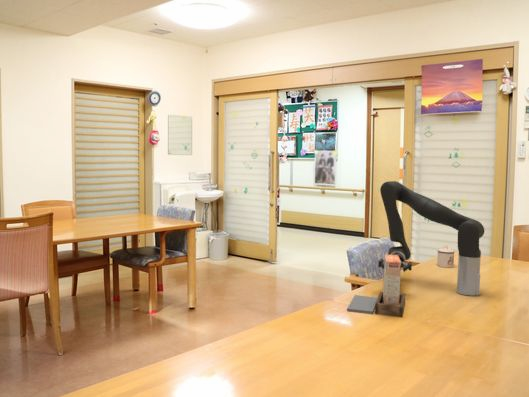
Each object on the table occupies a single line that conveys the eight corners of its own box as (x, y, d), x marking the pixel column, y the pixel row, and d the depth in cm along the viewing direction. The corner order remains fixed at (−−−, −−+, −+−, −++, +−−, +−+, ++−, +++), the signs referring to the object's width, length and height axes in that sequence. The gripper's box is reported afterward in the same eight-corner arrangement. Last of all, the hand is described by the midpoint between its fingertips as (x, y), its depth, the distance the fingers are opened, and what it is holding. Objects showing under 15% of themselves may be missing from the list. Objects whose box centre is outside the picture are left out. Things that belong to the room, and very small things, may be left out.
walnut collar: (405, 303, 204) (405, 294, 204) (402, 317, 187) (402, 306, 186) (379, 300, 208) (380, 291, 207) (374, 313, 190) (375, 303, 190)
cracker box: (399, 314, 190) (401, 261, 188) (383, 313, 191) (385, 261, 189) (397, 303, 203) (399, 254, 201) (382, 302, 205) (384, 253, 203)
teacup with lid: (450, 268, 268) (451, 248, 267) (434, 266, 274) (435, 245, 273) (458, 265, 277) (459, 245, 276) (442, 262, 283) (443, 243, 282)
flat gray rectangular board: (378, 299, 209) (378, 297, 208) (372, 314, 190) (372, 311, 190) (354, 297, 212) (354, 294, 212) (347, 311, 193) (347, 308, 193)
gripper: (381, 250, 227) (377, 258, 212) (413, 254, 222) (411, 261, 207) (380, 266, 228) (376, 274, 213) (412, 270, 223) (410, 278, 208)
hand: (393, 268), depth 210 cm, fingers open, 8 cm apart
